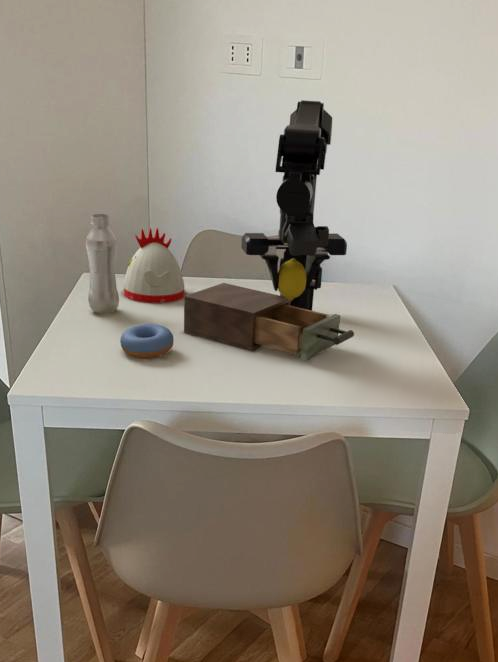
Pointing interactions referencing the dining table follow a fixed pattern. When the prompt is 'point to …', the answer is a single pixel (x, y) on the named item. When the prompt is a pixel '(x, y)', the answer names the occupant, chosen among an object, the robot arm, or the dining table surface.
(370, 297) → the dining table surface
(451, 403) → the dining table surface
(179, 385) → the dining table surface
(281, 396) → the dining table surface
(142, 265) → the kitchen timer
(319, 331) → the drawer
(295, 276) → the lemon
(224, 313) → the cabinet
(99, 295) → the plastic bottle
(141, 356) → the doughnut
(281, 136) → the robot arm
